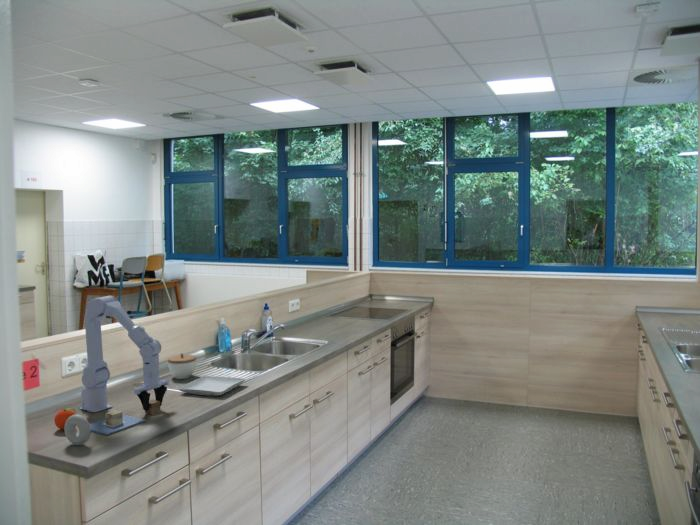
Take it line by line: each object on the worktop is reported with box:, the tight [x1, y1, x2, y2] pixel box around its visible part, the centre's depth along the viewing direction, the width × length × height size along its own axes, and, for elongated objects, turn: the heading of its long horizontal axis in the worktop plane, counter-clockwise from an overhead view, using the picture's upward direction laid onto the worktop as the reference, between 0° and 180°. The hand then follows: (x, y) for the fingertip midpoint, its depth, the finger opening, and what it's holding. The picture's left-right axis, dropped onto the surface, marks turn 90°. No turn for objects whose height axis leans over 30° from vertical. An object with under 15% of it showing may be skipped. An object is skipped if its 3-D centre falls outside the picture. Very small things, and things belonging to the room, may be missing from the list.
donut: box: [64, 413, 92, 446], centre depth 186 cm, size 10×4×10 cm, turn 67°
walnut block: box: [144, 399, 161, 415], centre depth 219 cm, size 4×4×4 cm
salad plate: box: [177, 375, 246, 397], centre depth 248 cm, size 21×21×3 cm
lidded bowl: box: [167, 353, 197, 380], centre depth 270 cm, size 13×13×11 cm
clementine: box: [54, 407, 77, 430], centre depth 202 cm, size 8×7×7 cm
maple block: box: [104, 409, 124, 426], centre depth 205 cm, size 4×4×4 cm
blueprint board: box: [89, 413, 147, 437], centre depth 205 cm, size 14×16×1 cm
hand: (152, 407), depth 219 cm, fingers open, 5 cm apart
